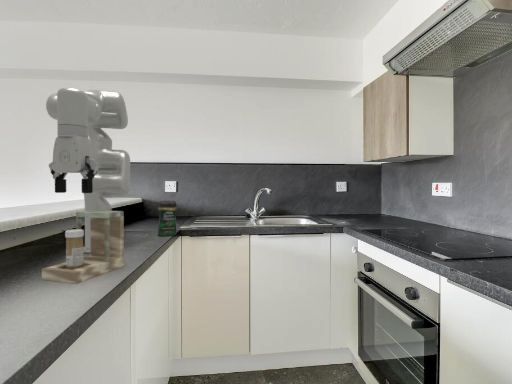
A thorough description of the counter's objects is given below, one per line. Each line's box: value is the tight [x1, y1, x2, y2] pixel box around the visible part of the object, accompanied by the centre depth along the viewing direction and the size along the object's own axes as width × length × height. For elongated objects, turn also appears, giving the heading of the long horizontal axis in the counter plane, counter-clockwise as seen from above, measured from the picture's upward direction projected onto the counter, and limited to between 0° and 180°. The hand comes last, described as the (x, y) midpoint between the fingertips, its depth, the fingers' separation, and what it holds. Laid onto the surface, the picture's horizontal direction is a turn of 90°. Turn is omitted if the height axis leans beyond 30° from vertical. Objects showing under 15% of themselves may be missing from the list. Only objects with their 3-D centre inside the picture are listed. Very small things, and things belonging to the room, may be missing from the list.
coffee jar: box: [157, 200, 178, 237], centre depth 154 cm, size 10×8×19 cm
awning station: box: [41, 210, 125, 285], centre depth 88 cm, size 18×12×18 cm, turn 164°
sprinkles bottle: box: [64, 228, 85, 270], centre depth 84 cm, size 5×5×14 cm
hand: (73, 192), depth 84 cm, fingers open, 9 cm apart
